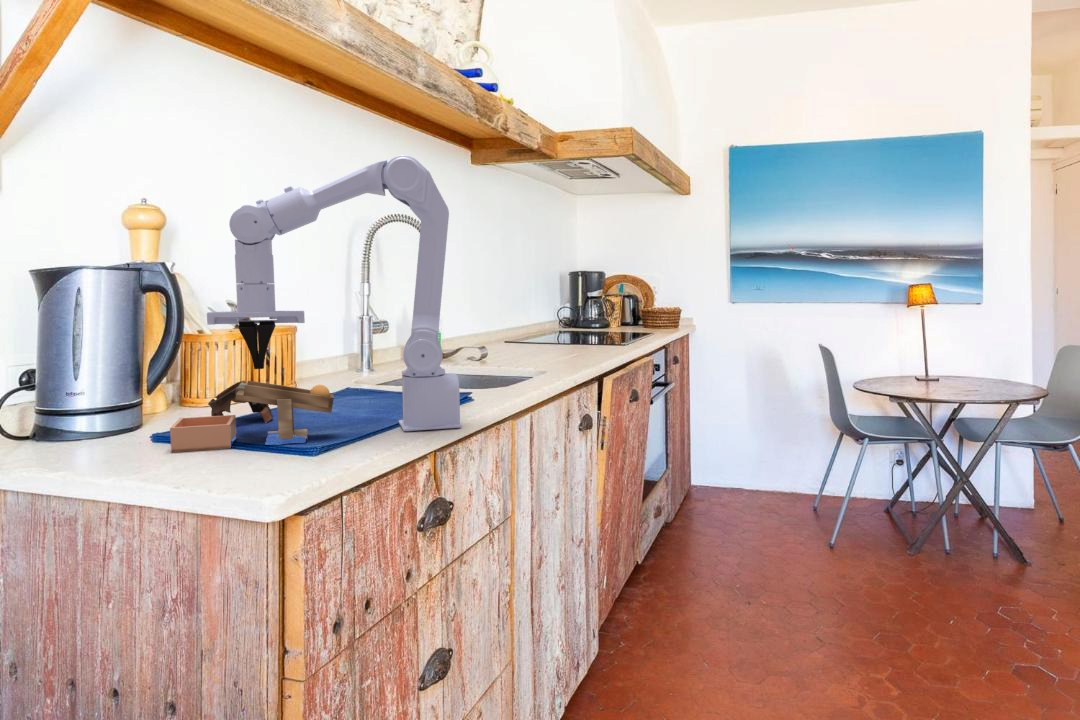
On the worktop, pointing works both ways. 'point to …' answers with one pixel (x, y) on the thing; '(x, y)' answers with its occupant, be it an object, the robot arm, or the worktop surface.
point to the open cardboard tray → (203, 433)
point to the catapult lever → (283, 396)
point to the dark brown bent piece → (229, 395)
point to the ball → (320, 390)
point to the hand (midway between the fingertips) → (259, 368)
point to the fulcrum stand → (287, 421)
